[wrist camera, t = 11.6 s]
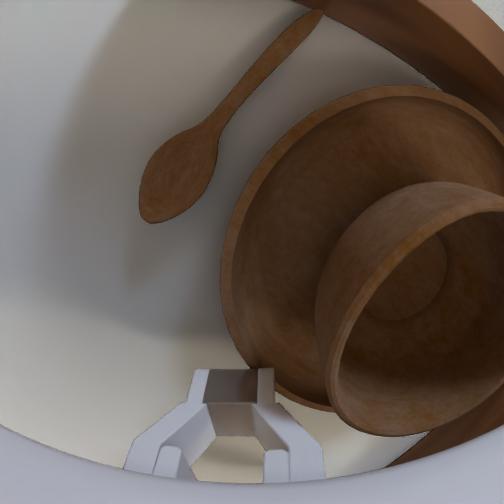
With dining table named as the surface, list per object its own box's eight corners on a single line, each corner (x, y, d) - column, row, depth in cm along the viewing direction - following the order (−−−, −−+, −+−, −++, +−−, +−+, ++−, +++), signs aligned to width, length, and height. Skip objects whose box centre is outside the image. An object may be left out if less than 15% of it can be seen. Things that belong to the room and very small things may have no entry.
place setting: (546, 278, 10) (612, 333, 4) (302, 482, 16) (307, 553, 10) (316, -21, 6) (359, -135, 1) (55, 360, 12) (1, 438, 7)
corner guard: (45, 381, 13) (18, 420, 10) (195, -82, 5) (175, -134, 2) (380, 480, 16) (388, 515, 13) (589, 209, 8) (626, 228, 5)
